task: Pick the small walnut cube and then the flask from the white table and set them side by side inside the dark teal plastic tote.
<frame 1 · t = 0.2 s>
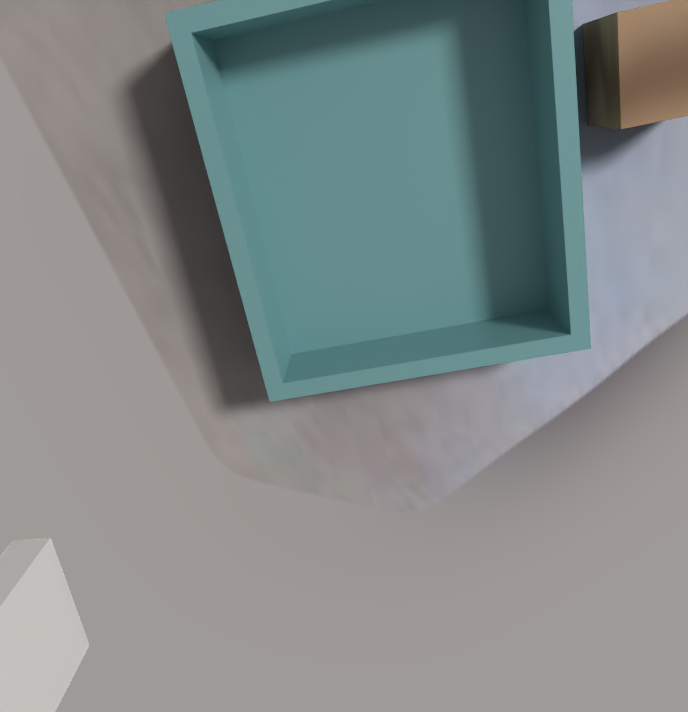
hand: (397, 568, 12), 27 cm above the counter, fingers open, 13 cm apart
tote: (392, 183, 36), on the counter
walnut cube: (632, 65, 33), on the counter
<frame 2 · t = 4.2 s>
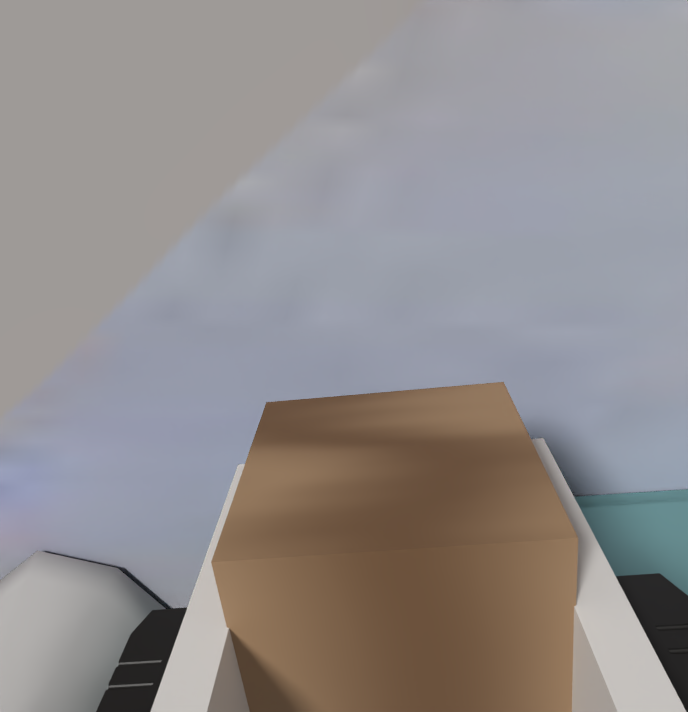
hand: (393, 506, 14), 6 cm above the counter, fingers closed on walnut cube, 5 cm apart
flask: (85, 621, 24), on the counter
tote: (530, 697, 23), on the counter
walnut cube: (393, 492, 14), point 5 cm above the counter, touching gripper
when the fingers open (1 cm above the counter, at t = 7.4 s): walnut cube stays where it is, resting on tote.
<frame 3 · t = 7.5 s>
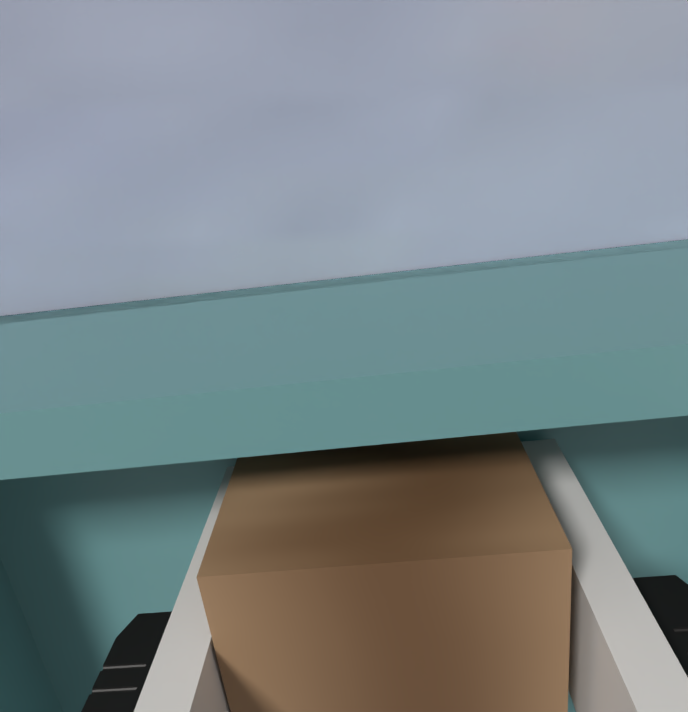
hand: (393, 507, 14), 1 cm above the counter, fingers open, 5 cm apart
tote: (392, 618, 16), on the counter
walnut cube: (383, 499, 14), point 1 cm above the counter, touching gripper, tote
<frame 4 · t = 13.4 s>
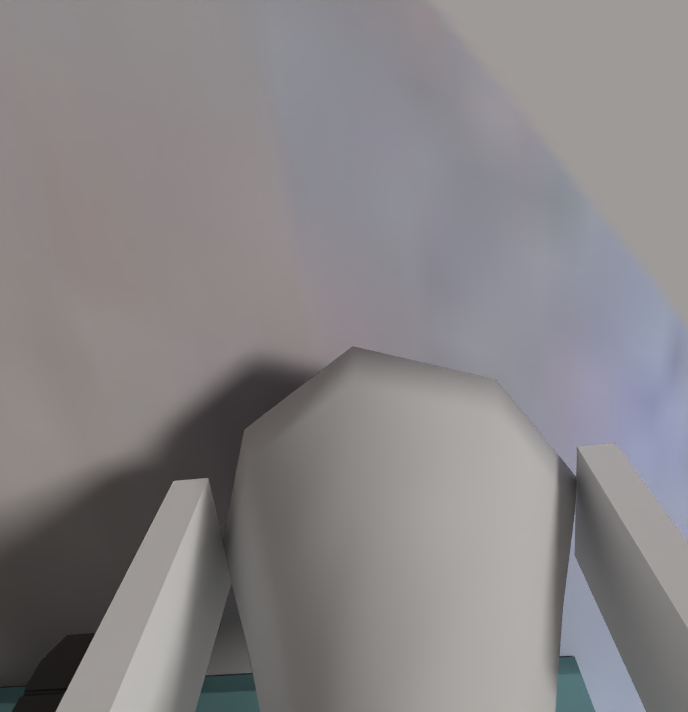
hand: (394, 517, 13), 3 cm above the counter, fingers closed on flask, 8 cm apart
flask: (392, 497, 14), point 2 cm above the counter, touching gripper
when the fingers open (2 cm above the counter, at t = 18.0 s): flask stays where it is, resting on tote.
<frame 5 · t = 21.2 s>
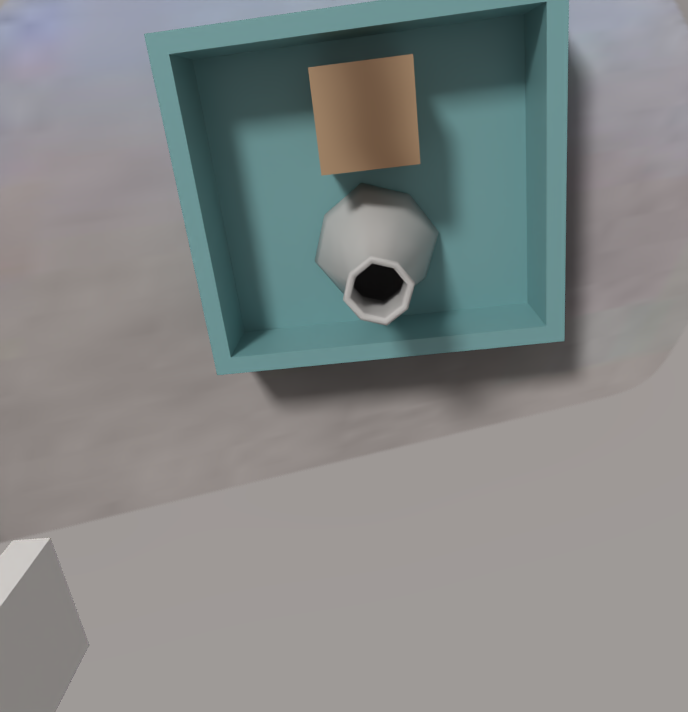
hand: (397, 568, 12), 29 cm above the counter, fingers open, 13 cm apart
flask: (375, 244, 38), resting on tote
tote: (370, 187, 37), on the counter
walnut cube: (365, 115, 35), point 1 cm above the counter, touching tote
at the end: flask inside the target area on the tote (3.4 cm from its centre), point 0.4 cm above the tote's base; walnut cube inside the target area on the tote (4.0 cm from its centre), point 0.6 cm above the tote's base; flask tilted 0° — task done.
